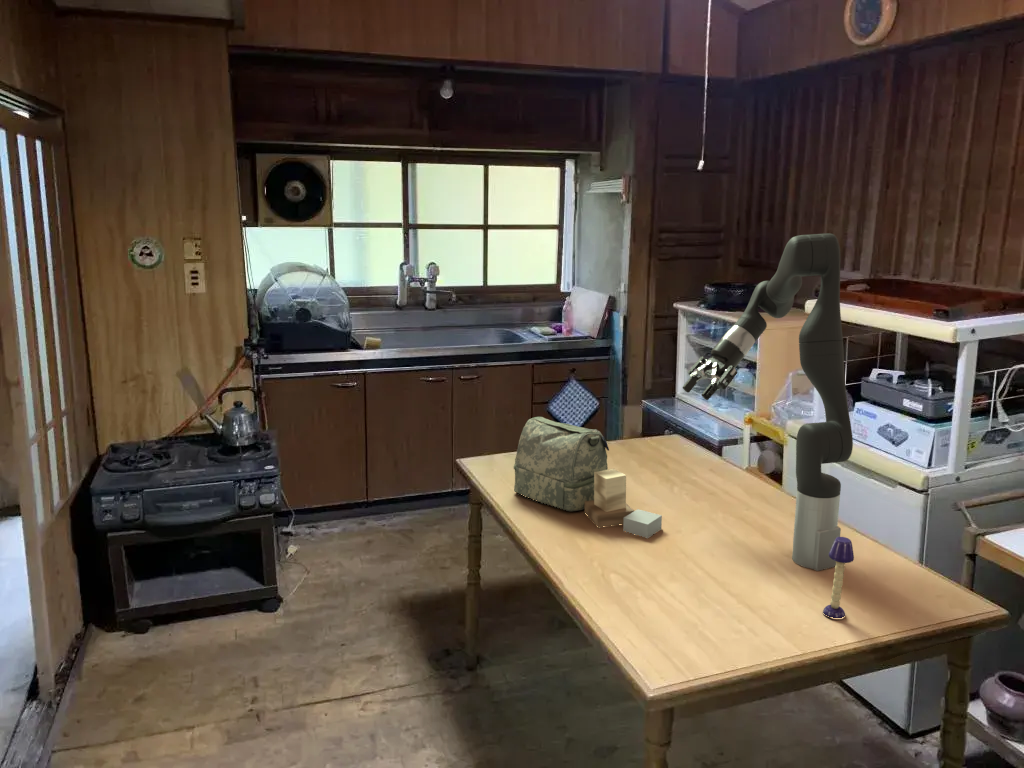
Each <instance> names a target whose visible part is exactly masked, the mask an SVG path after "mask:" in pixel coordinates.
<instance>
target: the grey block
mask: <svg viewBox="0 0 1024 768" xmlns="http://www.w3.org/2000/svg"><path fill="white" fill-rule="evenodd" d="M662 517H663V515H662V514H658V513H654V512H650V511H647V510H643V509H639V508H637V509H635V510H634V512H632V513H631V514H629V515H627V516H626V517H624V523H623V525H622V527H623V528H622V529H623V531H622V532H624V531H626V532H625V533H627V532H629V533H628V534H630V533H632V534H631V535H634V534H635V535H634V536H637V535H639V536H638V537H641V536H642V538H644V537H645V539H649V538H651V537H652V536H654V535H655V534H657V533H658V532H660V531H661V530H662V523H663V521H662V519H663V518H662ZM656 532H657V533H656ZM653 534H654V535H653Z"/></svg>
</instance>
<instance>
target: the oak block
mask: <svg viewBox="0 0 1024 768" xmlns="http://www.w3.org/2000/svg"><path fill="white" fill-rule="evenodd" d="M626 504H627V475H626V474H625V473H623V472H621V471H620V470H618V469H615V468H610V469H607V470H603V471H598V472H594V505H596V506H597V507H599V508H601V509H602V510H604V511H605V512H609V511H614V510H618V509H623V508H626Z"/></svg>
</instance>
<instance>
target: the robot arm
mask: <svg viewBox="0 0 1024 768" xmlns="http://www.w3.org/2000/svg"><path fill="white" fill-rule="evenodd" d="M815 276H820V289H819V292H818V293H819V294H818V297H817V299H816V301H815V303H814V306H813V307H812V309H811V311H810V313H809V314H808V316H807V318H806V319H805V321H804V323H803V324H802V327H801V329H800V332H799V335H798V347H799V349H798V351H799V362H800V366H801V369H802V370H803V372H804V375H806V377H807V379H808V380H809V382H810V383H811V384H812V385H813V387H814V388H815V390H816V391H817V392H818V395H819V396H820V398H821V401H822V403H823V407H824V413H825V421H823V422H819V421H818V422H809V423H808V422H807V423H804V424H802V425H801V426H800V427H799V429H798V431H797V434H796V439H795V441H796V442H795V444H796V445H795V477H796V482H797V483H796V496H795V497H796V498H795V499H796V500H795V510H794V511H795V512H794V513H795V514H794V526H793V527H794V528H793V537H792V538H793V541H792V553H791V558H792V561H793V562H794V563H795V564H796V565H799V566H801V567H803V568H808V569H811V570H815V571H816V572H819V571H823V569H824V570H827V568H828V569H831V567H832V568H835V567H834V566H836V561H834V560H832V559H831V558H830V557H829V552H830V549H831V547H832V545H833V543H834V540H835V539H836V538H837V537H841V533H842V532H841V530H842V529H841V527H840V526H838V525H839V524H838V523H839V512H840V511H839V510H840V501H841V500H840V499H841V488H842V483H841V481H840V480H839V479H838V478H837V477H835V476H833V475H831V474H829V473H825V472H822V465H823V464H824V465H825V464H834V463H836V464H837V463H843V462H846V461H848V460H849V459H850V458H851V455H852V453H853V446H854V440H853V430H852V424H851V417H850V412H849V405H848V399H847V389H846V377H845V374H846V373H845V355H844V354H845V353H844V352H845V351H844V338H843V327H842V326H843V325H842V315H841V300H840V299H841V296H840V295H841V247H840V242H839V239H838V238H837V236H836V235H835V234H834V233H813V234H801V235H800V234H799V235H796V236H793V237H791V238H789V240H788V242H787V243H786V245H785V247H784V249H783V252H782V255H781V257H780V260H779V262H778V267H777V270H776V272H775V274H774V275H773V276H772V277H771V279H770V280H763V281H761V282H759V283H757V285H756V286H755V288H754V290H753V292H752V295H751V296H750V299H749V301H748V304H747V306H746V308H745V310H744V311H743V312H742V314H741V315H740V317H739V318H738V319H737V320H736V322H735V323H734V324H733V325H732V327H731V328H729V329H728V330H727V331H726V332H725V334H724V335H723V336H722V337H721V338H720V339H719V341H718V342H717V343H716V344H715V345H714V347H713V348H712V349H711V352H710V354H711V356H710V357H709V358H708V359H707V358H705V357H704V356H700V357H699V359H698V360H696V362H695V363H694V364H693V365H692V366H691V368H689V370H688V371H687V374H688V375H689V378H688V379H687V380H686V382H685V383H684V384H683V386H682V390H683V391H684V392H685V393H690V392H691V391H692V390H693V388H694V387H695V386H696V384H697V383H698V382H699V381H701V380H707V379H711V382H710V384H708V385H707V387H705V389H704V390H703V392H701V398H702V399H704V400H705V401H708V400H709V399H710V398H711V397H712V396H713V395H714V394H715V393H716V391H719V390H721V389H722V391H723V390H726V389H727V388H728V387H729V385H730V384H731V383H732V382H733V379H734V378H735V377H736V376H737V375H738V373H739V372H738V371H737V370H736V368H737V366H738V365H739V364H740V362H741V361H742V360H743V359H744V357H745V356H746V355H747V354H748V353H749V351H750V350H751V349H752V347H753V346H754V344H755V343H756V342H757V340H758V339H759V338H760V337H761V336H762V334H763V333H764V331H766V329H767V326H768V323H767V321H766V320H765V318H764V317H763V316H762V314H761V313H760V312H759V309H760V310H763V311H764V312H765V313H767V315H769V316H770V317H772V318H774V319H782V318H784V317H785V316H787V315H788V314H789V312H790V311H791V310H792V308H793V305H794V301H795V295H797V293H798V292H799V290H800V289H801V287H802V284H803V277H815Z"/></svg>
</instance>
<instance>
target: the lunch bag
mask: <svg viewBox="0 0 1024 768" xmlns="http://www.w3.org/2000/svg"><path fill="white" fill-rule="evenodd" d="M520 433H521V434H520V437H519V440H518V446H517V450H516V454H515V455H516V456H515V458H514V464H513V470H514V487H513V488H514V489H513V490H514V493H515V492H517V493H519V494H522V495H524V496H526V497H529V498H532V499H534V500H537V501H538V502H541V503H540V504H543V503H544V504H543V505H546V504H547V505H546V506H549V505H551V506H550V507H553V506H554V507H553V508H556V507H557V509H559V508H560V510H562V509H563V510H562V511H565V510H566V512H576V511H583V510H585V501H591V500H594V472H598V471H603V470H609V469H608V454H607V453H608V452H607V451H610V448H609V446H608V442H607V440H606V439H605V436H603V434H602V432H601V431H600V430H598V429H596V428H595V429H591V428H586V427H581V426H578V425H573V424H570V423H562V422H557V421H554V420H550V419H548V418H545V417H543V416H535V417H532V418H529V419H528V420H527V421H526V423H525V425H524V426H523V428H522V431H521V432H520ZM517 493H516V494H517ZM519 494H518V495H519ZM526 497H525V498H526ZM534 500H533V501H534ZM538 502H537V503H538Z"/></svg>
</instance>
